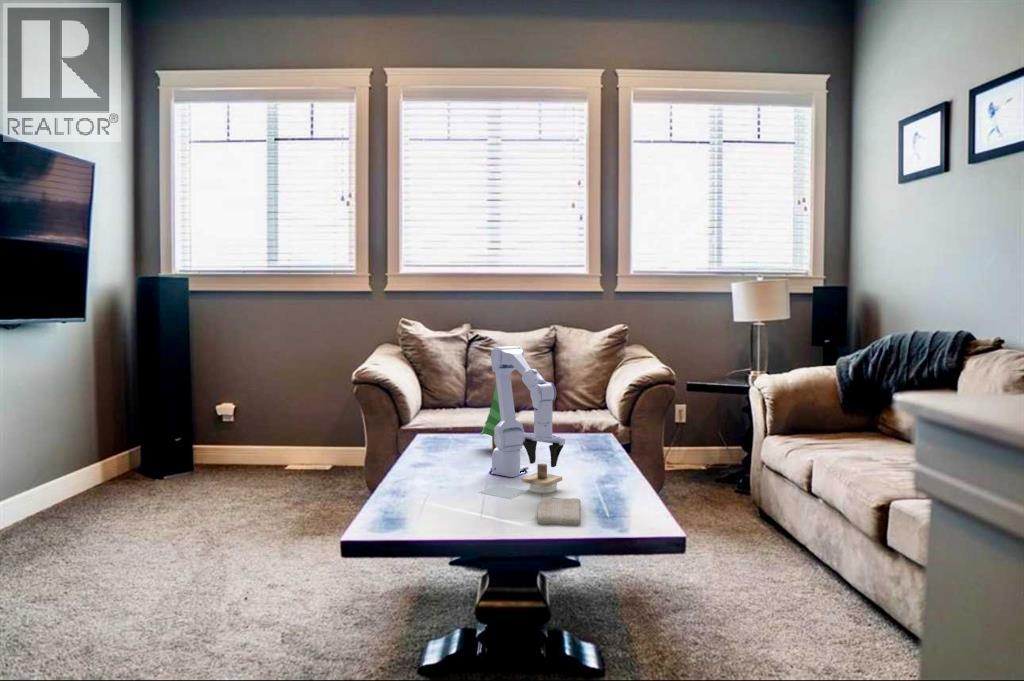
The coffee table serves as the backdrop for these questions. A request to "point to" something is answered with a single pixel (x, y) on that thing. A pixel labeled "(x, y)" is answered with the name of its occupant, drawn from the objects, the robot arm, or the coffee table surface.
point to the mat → (503, 491)
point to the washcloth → (559, 511)
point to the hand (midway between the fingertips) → (543, 464)
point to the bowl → (543, 488)
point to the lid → (542, 477)
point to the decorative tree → (493, 418)
